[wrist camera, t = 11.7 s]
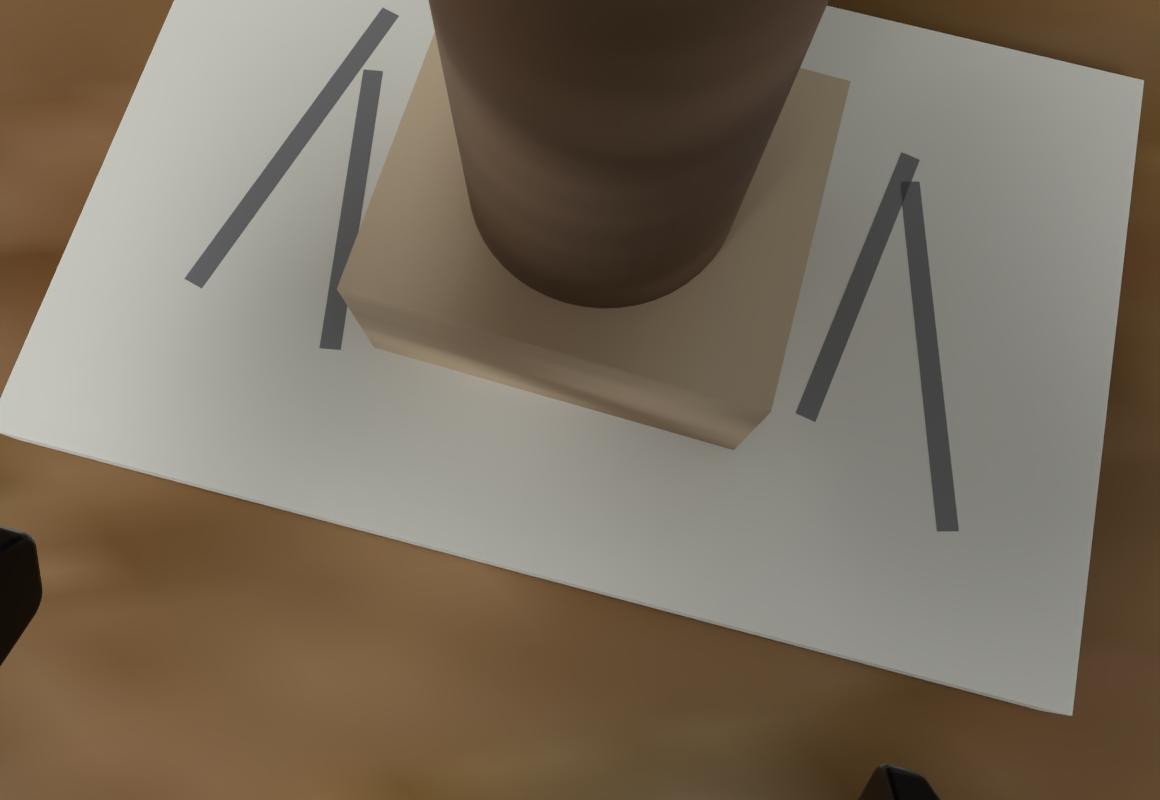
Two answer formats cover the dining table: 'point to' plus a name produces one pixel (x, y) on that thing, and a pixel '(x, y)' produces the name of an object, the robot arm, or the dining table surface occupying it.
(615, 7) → the brown piece
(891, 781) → the robot arm
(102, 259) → the board
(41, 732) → the dining table surface
